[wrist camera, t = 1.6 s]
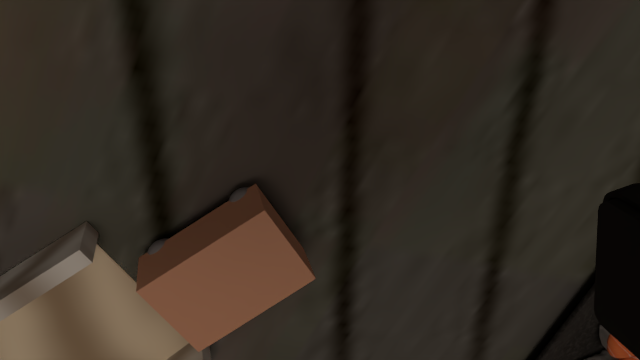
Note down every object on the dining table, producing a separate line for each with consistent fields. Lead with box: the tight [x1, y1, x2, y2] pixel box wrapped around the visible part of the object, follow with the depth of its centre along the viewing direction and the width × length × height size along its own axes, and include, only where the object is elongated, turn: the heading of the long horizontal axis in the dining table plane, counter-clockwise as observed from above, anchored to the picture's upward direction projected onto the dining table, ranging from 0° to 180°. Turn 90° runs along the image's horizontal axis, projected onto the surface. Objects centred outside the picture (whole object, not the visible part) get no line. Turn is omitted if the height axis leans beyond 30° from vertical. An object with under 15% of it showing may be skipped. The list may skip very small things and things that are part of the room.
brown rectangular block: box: [136, 184, 316, 352], centre depth 31 cm, size 8×6×4 cm
